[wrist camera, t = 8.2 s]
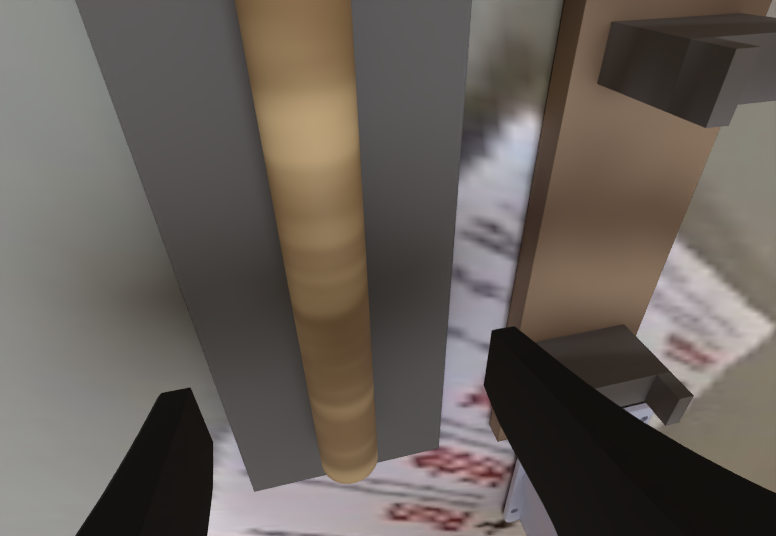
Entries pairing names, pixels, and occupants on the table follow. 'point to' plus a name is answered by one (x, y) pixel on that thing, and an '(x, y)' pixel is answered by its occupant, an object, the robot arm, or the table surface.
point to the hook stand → (627, 176)
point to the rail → (318, 210)
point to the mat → (257, 218)
